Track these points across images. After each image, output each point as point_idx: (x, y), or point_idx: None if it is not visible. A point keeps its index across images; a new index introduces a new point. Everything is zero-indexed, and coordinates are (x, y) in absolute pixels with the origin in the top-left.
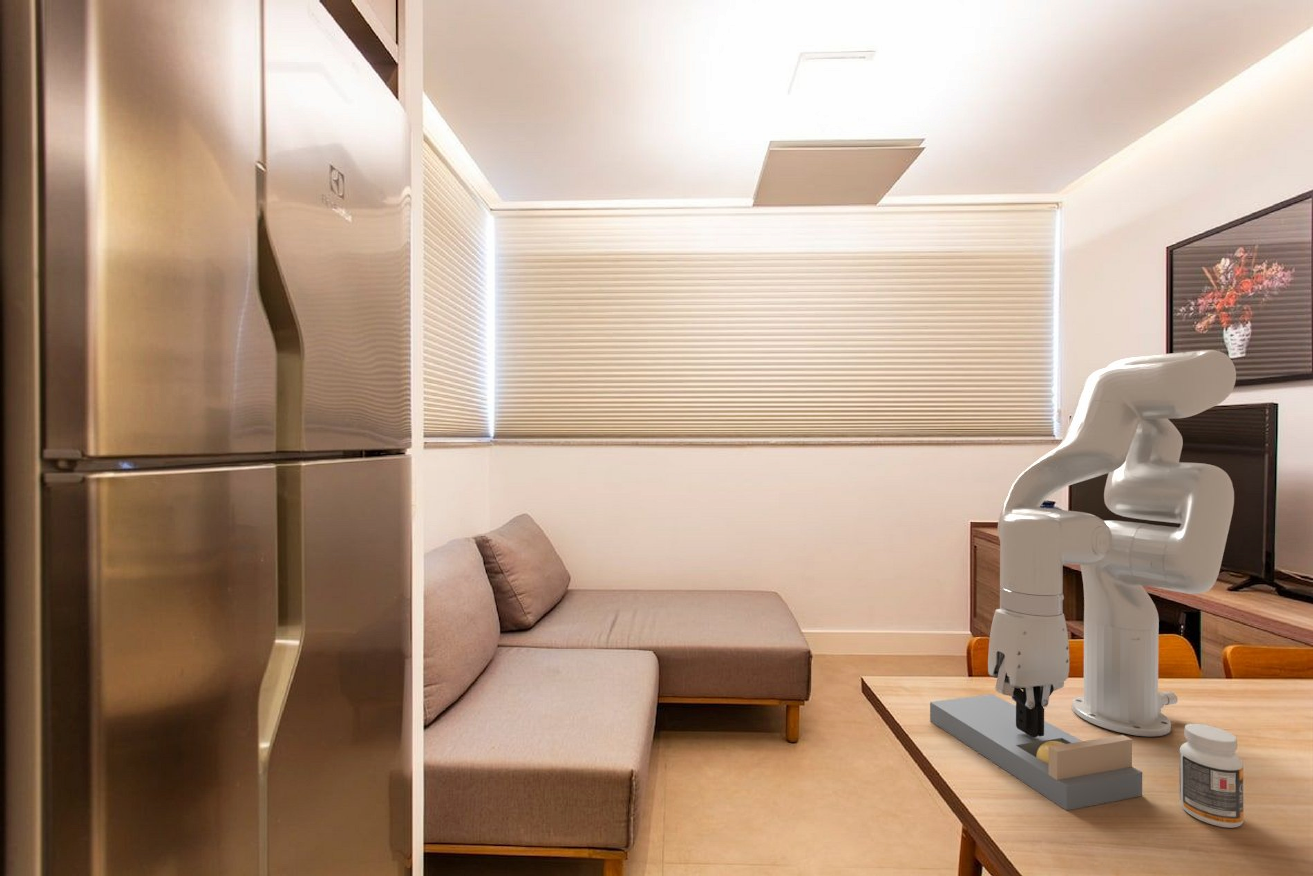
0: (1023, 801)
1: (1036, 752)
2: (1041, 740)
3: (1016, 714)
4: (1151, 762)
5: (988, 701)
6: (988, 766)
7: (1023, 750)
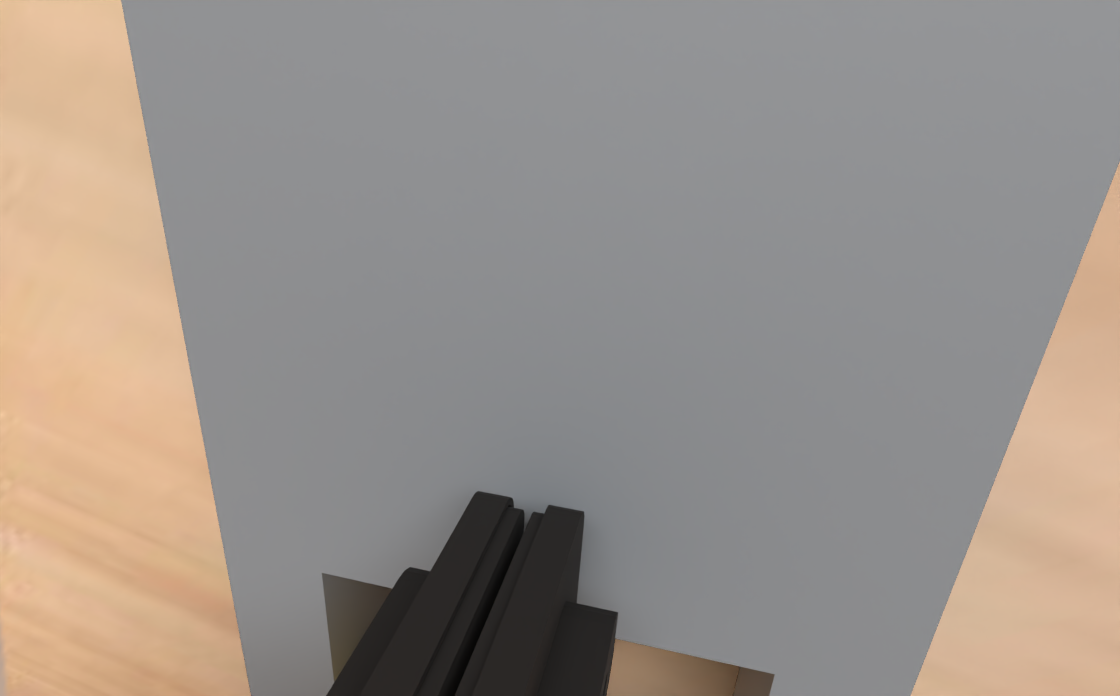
0: (221, 640)
1: None
2: None
3: (428, 578)
4: None
5: None
6: None
7: (323, 628)
